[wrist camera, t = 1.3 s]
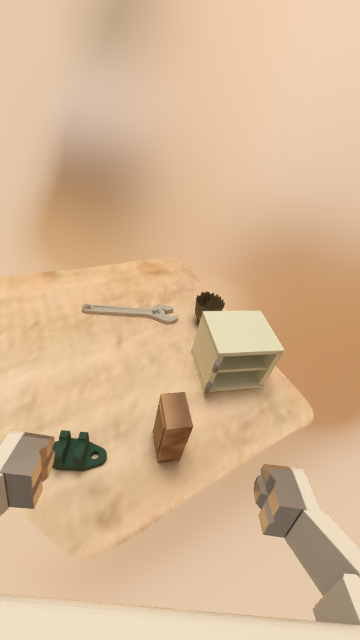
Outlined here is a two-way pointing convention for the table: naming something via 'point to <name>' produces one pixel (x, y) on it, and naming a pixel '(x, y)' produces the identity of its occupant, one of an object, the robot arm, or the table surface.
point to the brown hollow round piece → (208, 304)
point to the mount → (76, 452)
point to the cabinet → (234, 350)
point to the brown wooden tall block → (172, 426)
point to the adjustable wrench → (134, 312)
